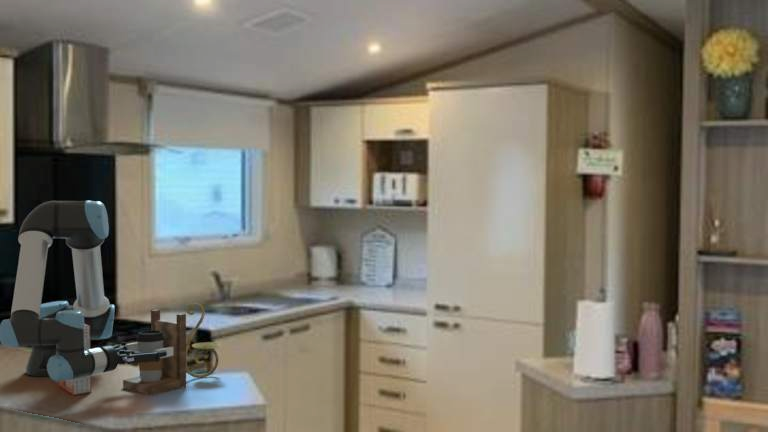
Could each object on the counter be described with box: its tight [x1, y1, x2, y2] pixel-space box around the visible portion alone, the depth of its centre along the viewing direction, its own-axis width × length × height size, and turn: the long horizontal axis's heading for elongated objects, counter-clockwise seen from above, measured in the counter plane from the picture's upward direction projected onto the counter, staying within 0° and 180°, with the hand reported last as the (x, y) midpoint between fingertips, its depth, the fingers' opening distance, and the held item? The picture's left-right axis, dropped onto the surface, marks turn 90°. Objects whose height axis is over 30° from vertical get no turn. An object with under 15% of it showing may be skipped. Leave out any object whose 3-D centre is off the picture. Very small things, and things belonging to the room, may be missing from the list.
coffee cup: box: [136, 329, 164, 382], centre depth 261 cm, size 8×8×15 cm
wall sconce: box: [186, 302, 222, 379], centre depth 275 cm, size 14×10×25 cm
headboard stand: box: [122, 309, 187, 396], centre depth 262 cm, size 14×13×23 cm
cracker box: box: [58, 324, 92, 396], centre depth 258 cm, size 14×6×21 cm, turn 38°
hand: (158, 348), depth 263 cm, fingers open, 13 cm apart
